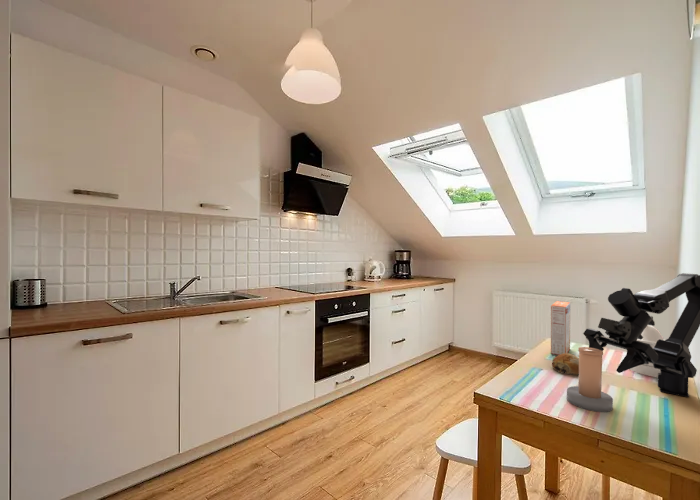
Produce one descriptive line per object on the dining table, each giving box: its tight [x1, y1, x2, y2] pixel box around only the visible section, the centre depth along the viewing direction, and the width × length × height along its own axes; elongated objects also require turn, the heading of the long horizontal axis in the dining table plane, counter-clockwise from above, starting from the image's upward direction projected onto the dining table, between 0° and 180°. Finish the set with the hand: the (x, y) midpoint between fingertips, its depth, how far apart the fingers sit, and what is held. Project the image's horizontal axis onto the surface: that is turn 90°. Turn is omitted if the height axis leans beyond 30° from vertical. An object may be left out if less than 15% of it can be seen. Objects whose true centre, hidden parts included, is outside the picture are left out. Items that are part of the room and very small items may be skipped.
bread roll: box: [551, 352, 579, 376], centre depth 125 cm, size 10×10×8 cm
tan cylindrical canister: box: [577, 346, 604, 398], centre depth 99 cm, size 6×6×13 cm
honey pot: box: [629, 325, 665, 378], centre depth 125 cm, size 13×13×18 cm
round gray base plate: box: [566, 385, 614, 413], centre depth 99 cm, size 11×11×2 cm
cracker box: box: [550, 300, 571, 356], centre depth 147 cm, size 14×6×21 cm, turn 141°
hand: (602, 366), depth 100 cm, fingers open, 9 cm apart
